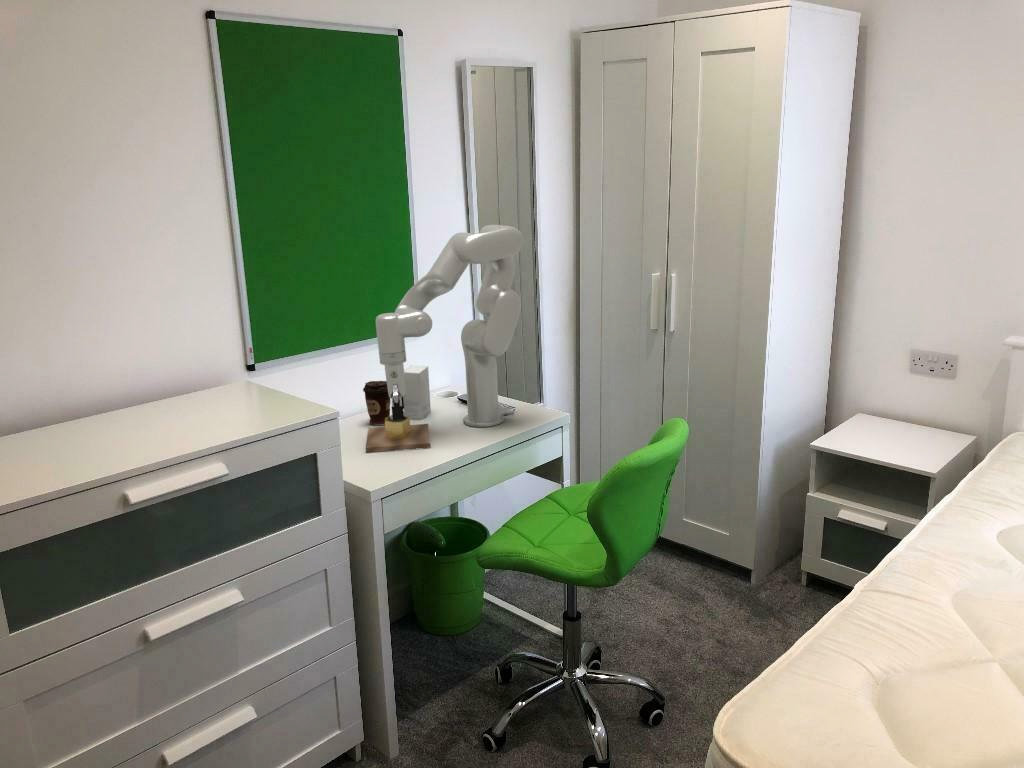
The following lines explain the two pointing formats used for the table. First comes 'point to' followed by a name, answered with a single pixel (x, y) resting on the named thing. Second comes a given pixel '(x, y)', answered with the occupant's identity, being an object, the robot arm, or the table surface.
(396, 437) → the brass ring
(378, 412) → the coffee cup
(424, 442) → the post board
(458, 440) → the table surface
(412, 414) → the skincare box
